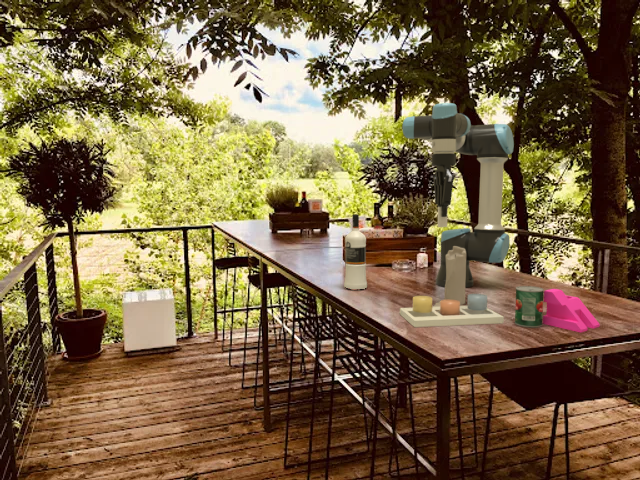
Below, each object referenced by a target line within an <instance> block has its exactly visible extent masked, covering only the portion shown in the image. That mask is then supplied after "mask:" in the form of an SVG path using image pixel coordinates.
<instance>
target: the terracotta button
mask: <svg viewBox="0 0 640 480" xmlns="http://www.w3.org/2000/svg"><path fill="white" fill-rule="evenodd" d="M439 302H440V314H441V315H444V316H450V315H460V306H461V305H460V301H457V300H450V299H446V300H444V299H441V300H440V301H439Z"/></svg>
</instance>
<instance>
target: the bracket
mask: <svg viewBox="0 0 640 480" xmlns="http://www.w3.org/2000/svg"><path fill="white" fill-rule="evenodd" d="M543 295H544V296H543V303H546V313H545V315H544V314H543V320H542V325H546V326H547V325H548V326H551V327H555V328H560V329H563V330H568V331H573V332H576V333H577V332H578V333H584V332H588V330H589V328H590V329H597V328H600V326H601V324H600V322H599V321H598V320H597V319H596V317H595V316H594V315H593V313H591V311H590V310H589V309H588V308H587V306H586V305H585V303H583V301H582V300H581V299H580V298H579V297H577V296H571V295H566V293H565V292H564V291H563V290H562V289H558V288H550V289H546V290H544V293H543Z"/></svg>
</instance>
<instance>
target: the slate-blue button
mask: <svg viewBox="0 0 640 480" xmlns="http://www.w3.org/2000/svg"><path fill="white" fill-rule="evenodd" d="M466 305H467V308H468V309H471V310H486V309H487V308H488V295H487V294H484V293H483V294H482V293H469V294H467V304H466Z"/></svg>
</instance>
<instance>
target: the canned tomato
mask: <svg viewBox="0 0 640 480" xmlns="http://www.w3.org/2000/svg"><path fill="white" fill-rule="evenodd" d="M544 289H545V288H542V287H540V286H533V285H532V286H531V285H522V286H521V285H519V286H516V287H515V305H514V306H515V309H514V313H515V314H514V324H515V325H517V326H519V327H523V328H542V327H543V316H544V314H543V313H544V311H543V310H544V291H545V290H544Z"/></svg>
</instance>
